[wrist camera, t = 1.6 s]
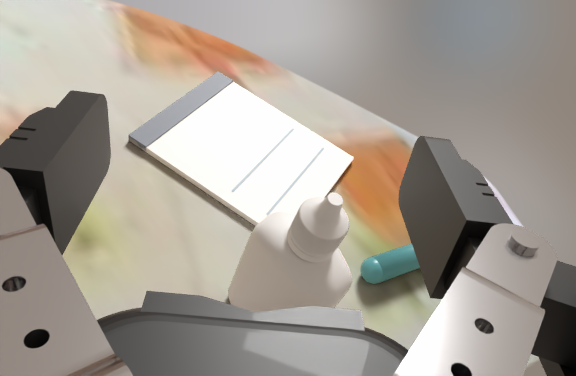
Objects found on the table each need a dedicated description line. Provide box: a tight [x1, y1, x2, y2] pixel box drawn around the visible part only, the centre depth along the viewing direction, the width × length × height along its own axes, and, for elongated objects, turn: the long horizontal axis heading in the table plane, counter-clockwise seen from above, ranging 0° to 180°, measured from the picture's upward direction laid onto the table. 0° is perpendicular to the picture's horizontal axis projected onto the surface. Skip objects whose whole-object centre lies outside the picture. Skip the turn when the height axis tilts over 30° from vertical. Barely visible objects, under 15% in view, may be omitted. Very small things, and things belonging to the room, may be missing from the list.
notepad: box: [129, 72, 354, 226], centre depth 37 cm, size 11×14×1 cm
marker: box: [361, 244, 420, 284], centre depth 35 cm, size 12×2×2 cm, turn 117°
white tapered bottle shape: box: [228, 193, 352, 312], centre depth 25 cm, size 4×6×12 cm
